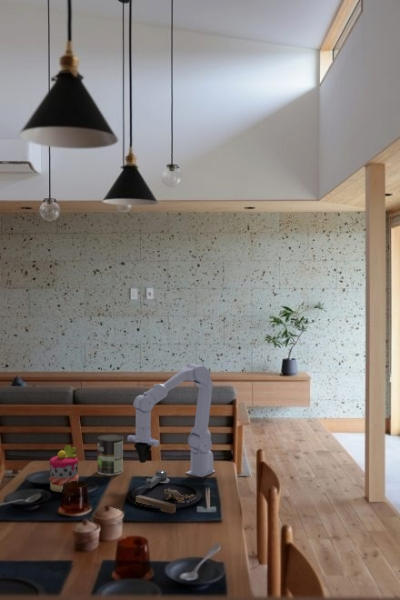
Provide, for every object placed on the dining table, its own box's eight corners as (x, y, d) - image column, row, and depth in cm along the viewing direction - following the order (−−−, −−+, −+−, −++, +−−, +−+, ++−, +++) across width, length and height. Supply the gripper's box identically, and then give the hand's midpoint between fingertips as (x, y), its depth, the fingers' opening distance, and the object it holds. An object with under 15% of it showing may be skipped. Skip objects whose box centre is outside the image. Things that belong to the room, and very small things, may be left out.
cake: (71, 493, 240) (71, 452, 240) (44, 491, 242) (44, 450, 242) (82, 484, 250) (82, 445, 250) (56, 482, 253) (56, 443, 252)
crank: (158, 476, 258) (158, 466, 258) (168, 478, 256) (168, 467, 256) (142, 487, 245) (142, 476, 244) (153, 489, 243) (153, 478, 243)
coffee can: (101, 476, 260) (101, 441, 259) (94, 469, 269) (94, 435, 269) (126, 473, 264) (126, 438, 264) (118, 467, 273) (118, 433, 273)
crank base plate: (159, 477, 259) (159, 476, 259) (172, 480, 256) (172, 479, 256) (149, 481, 254) (149, 480, 254) (162, 484, 251) (162, 483, 251)
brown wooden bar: (139, 502, 231) (139, 495, 231) (175, 512, 222) (175, 504, 222) (135, 503, 229) (135, 496, 229) (171, 513, 220) (171, 506, 220)
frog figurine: (156, 504, 231) (156, 493, 231) (169, 493, 242) (169, 483, 242) (186, 508, 227) (186, 497, 227) (198, 497, 238) (198, 486, 238)
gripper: (122, 426, 254) (121, 461, 254) (150, 431, 245) (150, 467, 245) (134, 422, 259) (134, 457, 260) (162, 428, 251) (162, 463, 251)
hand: (142, 462), depth 253 cm, fingers closed
